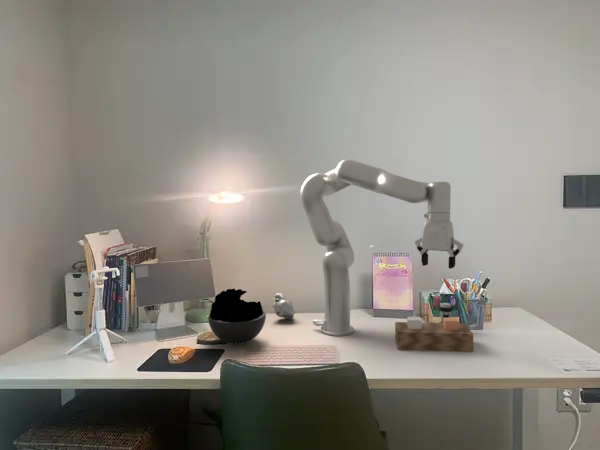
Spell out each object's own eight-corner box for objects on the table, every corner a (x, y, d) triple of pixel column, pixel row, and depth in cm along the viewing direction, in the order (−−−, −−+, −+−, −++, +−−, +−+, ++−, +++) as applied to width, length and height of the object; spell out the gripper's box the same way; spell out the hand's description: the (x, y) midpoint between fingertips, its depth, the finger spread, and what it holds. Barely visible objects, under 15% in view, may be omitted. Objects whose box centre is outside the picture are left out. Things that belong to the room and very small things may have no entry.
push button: (454, 328, 178) (454, 302, 177) (458, 332, 173) (458, 305, 172) (436, 327, 178) (437, 302, 178) (439, 332, 173) (440, 305, 172)
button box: (397, 349, 155) (397, 332, 154) (395, 338, 166) (395, 321, 166) (473, 352, 151) (473, 333, 151) (465, 340, 163) (465, 323, 163)
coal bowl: (236, 331, 178) (235, 282, 177) (277, 340, 166) (276, 288, 165) (196, 345, 162) (195, 292, 160) (239, 356, 150) (238, 299, 149)
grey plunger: (408, 337, 158) (408, 320, 157) (407, 333, 162) (407, 316, 161) (421, 338, 157) (421, 320, 157) (420, 334, 161) (420, 317, 161)
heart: (289, 325, 184) (291, 294, 185) (268, 322, 188) (270, 292, 189) (299, 323, 193) (302, 294, 194) (279, 320, 197) (281, 292, 198)
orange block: (445, 338, 156) (445, 321, 155) (442, 334, 160) (443, 317, 160) (458, 339, 155) (458, 321, 155) (456, 335, 160) (456, 317, 159)
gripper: (410, 217, 164) (410, 265, 166) (458, 218, 153) (457, 270, 154) (420, 216, 170) (420, 262, 171) (467, 217, 159) (466, 267, 160)
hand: (438, 266), depth 163 cm, fingers open, 9 cm apart
